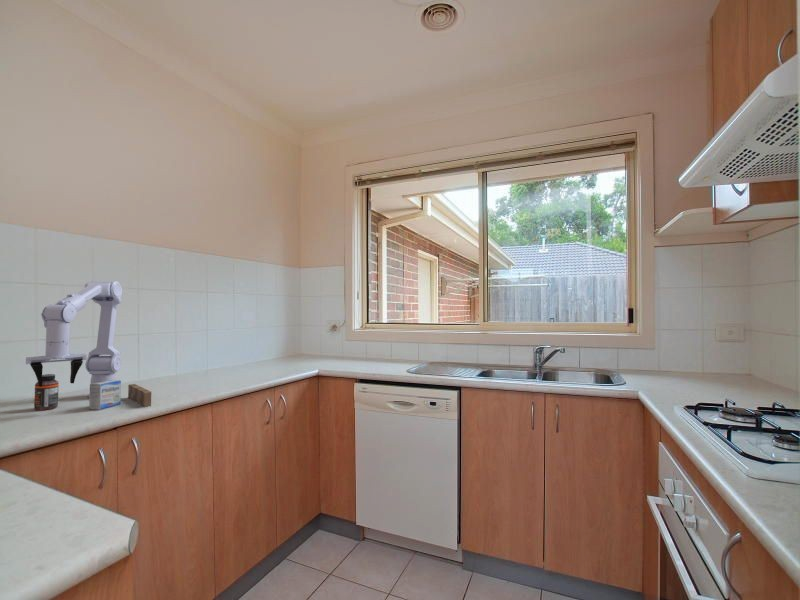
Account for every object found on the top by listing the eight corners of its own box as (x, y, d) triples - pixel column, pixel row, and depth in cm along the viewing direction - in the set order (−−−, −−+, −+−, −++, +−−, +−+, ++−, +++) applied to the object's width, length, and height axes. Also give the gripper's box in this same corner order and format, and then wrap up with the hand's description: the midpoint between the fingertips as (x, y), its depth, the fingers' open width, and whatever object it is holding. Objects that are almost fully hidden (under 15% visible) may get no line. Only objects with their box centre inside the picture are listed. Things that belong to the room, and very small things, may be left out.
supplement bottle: (29, 409, 130) (30, 375, 130) (51, 405, 135) (52, 372, 136) (40, 411, 128) (41, 376, 128) (62, 407, 133) (62, 374, 133)
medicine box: (99, 410, 130) (100, 384, 130) (88, 409, 131) (89, 383, 131) (120, 404, 138) (121, 380, 138) (110, 404, 139) (111, 379, 139)
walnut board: (128, 397, 148) (128, 384, 148) (134, 397, 149) (134, 383, 150) (144, 407, 135) (144, 392, 135) (151, 406, 136) (151, 391, 136)
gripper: (28, 344, 117) (26, 389, 117) (89, 341, 128) (87, 383, 128) (25, 342, 122) (24, 386, 122) (84, 340, 133) (83, 380, 133)
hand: (56, 384), depth 125 cm, fingers open, 7 cm apart
